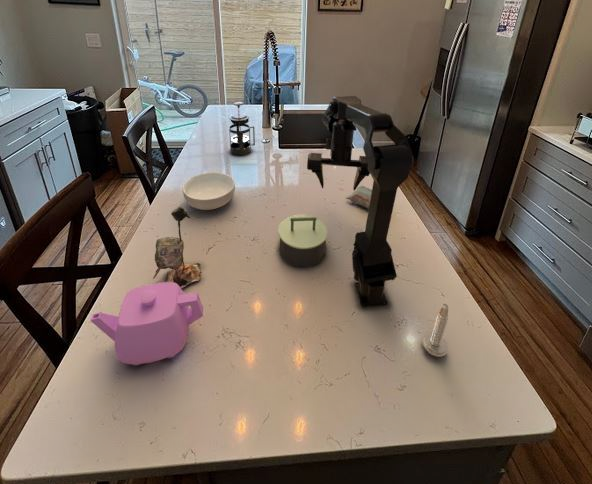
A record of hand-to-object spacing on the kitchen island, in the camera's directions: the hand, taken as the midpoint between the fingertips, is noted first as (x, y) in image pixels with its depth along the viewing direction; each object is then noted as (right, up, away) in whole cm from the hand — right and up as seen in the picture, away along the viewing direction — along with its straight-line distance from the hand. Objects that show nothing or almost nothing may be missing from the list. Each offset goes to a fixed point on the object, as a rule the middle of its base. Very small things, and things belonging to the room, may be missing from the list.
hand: (338, 188), depth 97 cm
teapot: (-42, -26, -29) cm, 57 cm away
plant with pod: (-42, -20, -14) cm, 49 cm away
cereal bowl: (-42, -8, +16) cm, 45 cm away
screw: (+16, -28, -29) cm, 43 cm away
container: (-11, -17, -4) cm, 20 cm away
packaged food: (+11, -9, +17) cm, 22 cm away
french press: (-37, +7, +51) cm, 64 cm away
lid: (-11, -11, -6) cm, 16 cm away
